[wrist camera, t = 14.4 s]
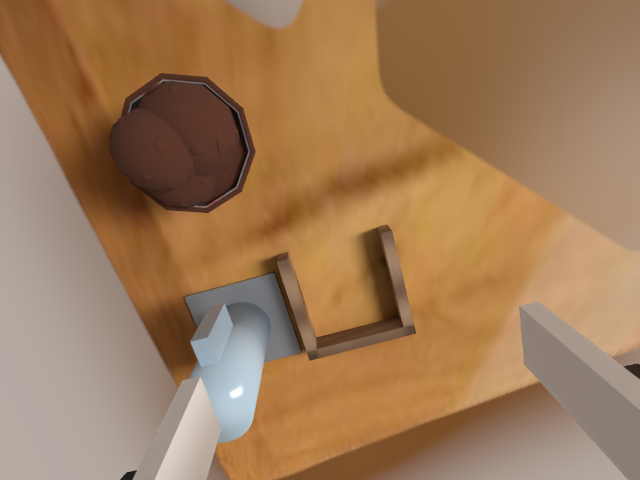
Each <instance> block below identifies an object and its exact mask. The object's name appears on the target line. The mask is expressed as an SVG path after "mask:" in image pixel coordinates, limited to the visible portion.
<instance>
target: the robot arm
mask: <svg viewBox="0 0 640 480" xmlns="http://www.w3.org/2000/svg"><path fill="white" fill-rule="evenodd" d="M519 309H520V321H521V332H522V343H523V354H524V364H525V365H526V367H527V368H528V369H529V370H530V371H531V372H532V373H533V374H534V375H535V377H536V378H537V379H538V380H539V381H540V382H541V383H542V384H543V385H544V387H545V388H546V389H547V390H548V391H549V392H550V393H551V394H552V395H553V397H554V398H555V399H556V400H557V401H558V402H559V403H560V404H561V406H562V407H563V408H564V409H565V410H566V411H567V412H568V413H569V414H570V416H571V417H572V418H573V419H574V420H575V421H576V422H577V423H578V424H579V426H580V427H581V428H582V429H583V430H584V431H585V432H586V433H587V434H588V435H589V437H590V438H591V439H592V440H593V441H594V442H595V443H596V444H597V445H598V447H599V448H600V449H601V450H602V451H603V452H604V453H605V454H606V455H607V457H608V458H609V459H610V460H611V461H612V462H613V463H614V464H615V466H616V467H617V468H618V469H619V470H620V471H621V472H622V473H623V475H624V476H625V477H626V478H627V479H628V480H640V365H639V364H633V365H628V366H624V367H623V366H622V365H620V364H619V363H618V362H616V361H615V360H613V358H611V357H610V356H609V355H607V354H606V353H605V352H603V351H602V350H601V349H600V348H598V347H597V346H596V345H594V344H593V343H592V342H590V341H589V340H588V339H587V338H585V337H584V336H583V335H581V334H580V333H579V332H577V331H576V330H575V329H574V328H572V327H571V326H570V325H568V324H567V323H566V322H564V321H563V320H562V319H560V318H559V317H558V316H557V315H555V314H554V313H553V312H551V311H550V310H549V309H547V308H546V307H545V306H544V305H542V304H541V303H540V302H535V303H531V304H526V305H522V306H519ZM220 432H221V427H220V424H219V422H218V419H217V417H216V414H215V412H214V409H213V407H212V404H211V402H210V399H209V397H208V394H207V392H206V389H205V387H204V384H203V382H202V379H201V377H197V378H192V379H188V380H183V381H182V383H181V385H180V387H179V389H178V391H177V393H176V395H175V397H174V399H173V401H172V403H171V405H170V407H169V409H168V411H167V413H166V415H165V417H164V418H163V420H162V422H161V424H160V426H159V428H158V430H157V432H156V434H155V436H154V438H153V440H152V442H151V444H150V446H149V448H148V450H147V452H146V454H145V456H144V458H143V460H142V462H141V464H140V466H139V468H138V470H136V471H131V472H127V473H126V474H125V475H124V476H123V477H122V478H121V479H120V480H206V479H207V475H208V472H209V468H210V465H211V462H212V459H213V455H214V452H215V449H216V445H217V442H218V439H219V435H220Z"/></svg>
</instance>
